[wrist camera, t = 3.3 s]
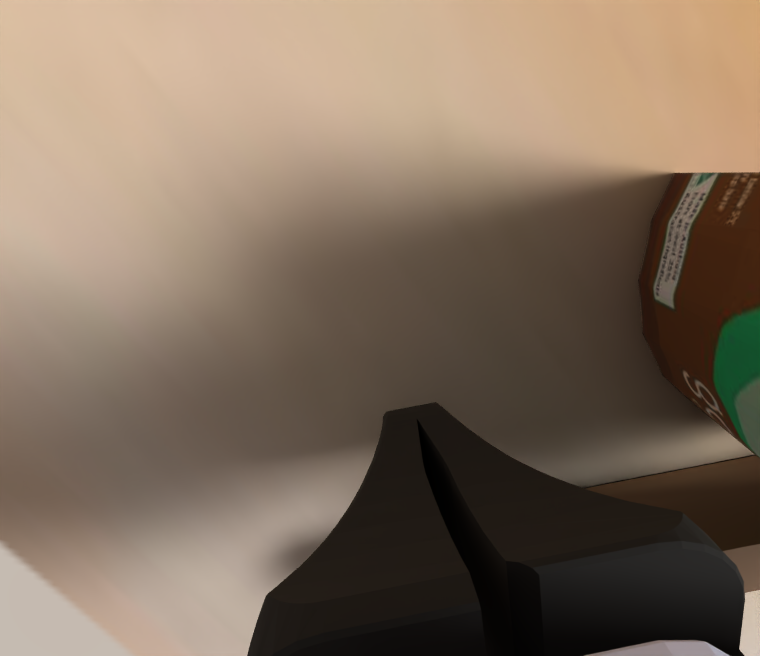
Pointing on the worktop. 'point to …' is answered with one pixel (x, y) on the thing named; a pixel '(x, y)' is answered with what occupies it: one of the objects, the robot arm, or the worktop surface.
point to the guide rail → (709, 506)
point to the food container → (707, 296)
